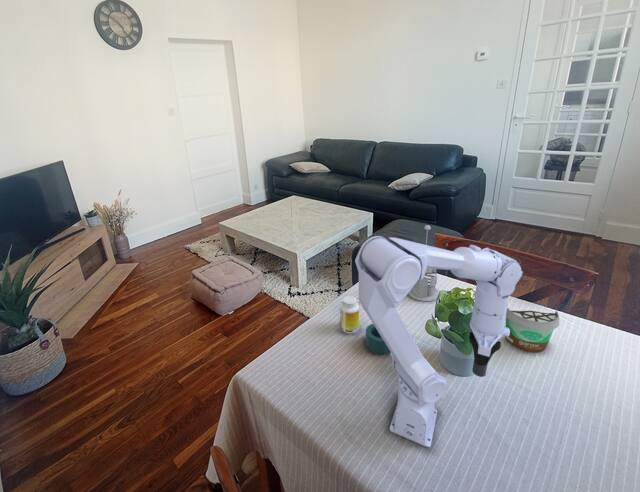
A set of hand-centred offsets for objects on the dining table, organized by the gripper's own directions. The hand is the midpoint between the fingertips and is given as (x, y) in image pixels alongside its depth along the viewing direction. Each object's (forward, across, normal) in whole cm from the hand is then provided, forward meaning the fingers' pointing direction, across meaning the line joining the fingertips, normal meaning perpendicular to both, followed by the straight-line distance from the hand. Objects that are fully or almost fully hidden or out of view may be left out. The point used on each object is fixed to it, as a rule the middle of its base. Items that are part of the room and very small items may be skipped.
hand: (480, 360), depth 73 cm
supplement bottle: (+11, +10, +34) cm, 37 cm away
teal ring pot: (+10, +7, +24) cm, 27 cm away
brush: (+3, 0, 0) cm, 3 cm away
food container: (+10, +23, -11) cm, 28 cm away
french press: (-2, +37, +18) cm, 41 cm away
